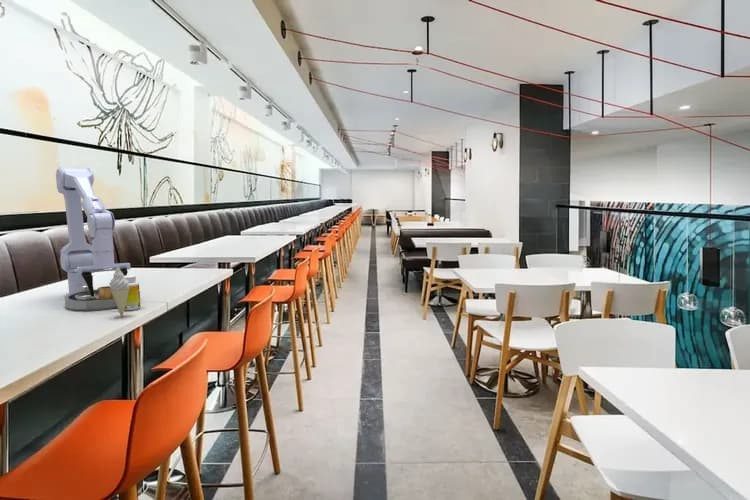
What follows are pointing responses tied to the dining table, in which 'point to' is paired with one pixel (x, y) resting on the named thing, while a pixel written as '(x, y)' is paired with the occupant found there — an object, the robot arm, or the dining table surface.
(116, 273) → the ice cream cone
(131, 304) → the beer glass
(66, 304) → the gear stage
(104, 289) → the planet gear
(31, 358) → the dining table surface
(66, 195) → the robot arm
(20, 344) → the dining table surface
